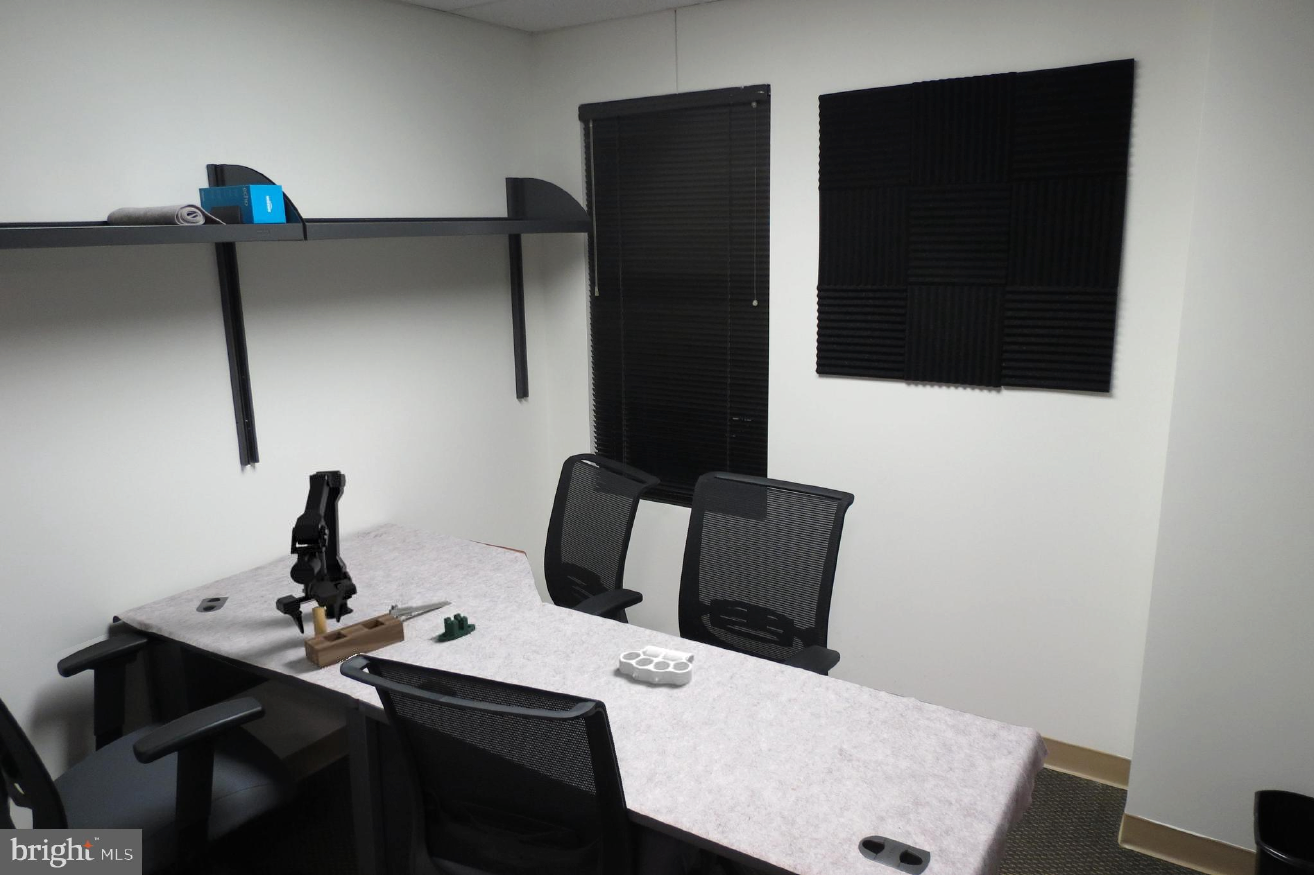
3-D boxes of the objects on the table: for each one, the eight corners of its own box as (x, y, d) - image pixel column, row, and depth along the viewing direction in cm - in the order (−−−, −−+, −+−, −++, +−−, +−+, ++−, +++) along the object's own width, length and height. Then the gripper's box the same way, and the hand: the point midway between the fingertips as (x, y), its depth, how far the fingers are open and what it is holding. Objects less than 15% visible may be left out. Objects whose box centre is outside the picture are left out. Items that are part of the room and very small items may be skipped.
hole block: (306, 659, 219) (304, 639, 218) (389, 631, 234) (387, 613, 233) (320, 669, 213) (318, 650, 212) (404, 640, 228) (402, 621, 227)
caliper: (391, 630, 235) (389, 607, 234) (389, 629, 236) (387, 606, 234) (452, 604, 251) (450, 583, 250) (449, 603, 252) (447, 582, 250)
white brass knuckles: (706, 666, 211) (680, 694, 198) (638, 652, 219) (609, 678, 206) (706, 652, 210) (679, 680, 197) (638, 639, 218) (608, 664, 205)
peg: (313, 641, 229) (309, 608, 227) (325, 637, 231) (321, 605, 229) (318, 645, 227) (314, 611, 225) (330, 641, 229) (326, 608, 227)
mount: (443, 645, 225) (442, 626, 224) (433, 640, 228) (432, 622, 227) (479, 631, 233) (478, 613, 232) (469, 626, 236) (468, 608, 235)
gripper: (289, 588, 213) (297, 649, 216) (363, 567, 225) (369, 625, 229) (271, 577, 221) (278, 636, 224) (344, 557, 233) (350, 613, 236)
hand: (320, 628), depth 228 cm, fingers open, 9 cm apart
